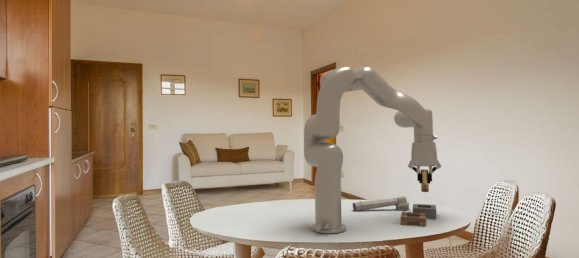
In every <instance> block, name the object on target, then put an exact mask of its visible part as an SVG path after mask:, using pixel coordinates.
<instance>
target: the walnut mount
mask: <svg viewBox="0 0 579 258" xmlns="http://www.w3.org/2000/svg"><path fill="white" fill-rule="evenodd" d="M400 225H402V226H403V225H404V226H412V227H413V226H415V227H427V219H426V213H413V211H411V212H410V211H402V212H401V215H400Z"/></svg>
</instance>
